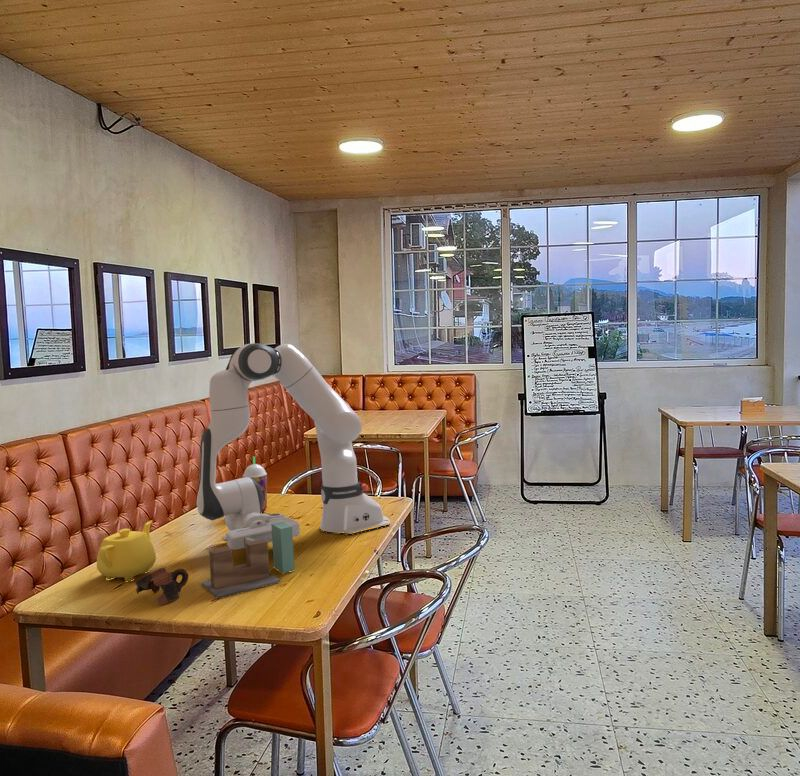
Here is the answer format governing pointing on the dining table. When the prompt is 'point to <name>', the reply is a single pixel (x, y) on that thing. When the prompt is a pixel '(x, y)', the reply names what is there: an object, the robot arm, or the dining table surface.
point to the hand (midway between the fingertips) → (274, 540)
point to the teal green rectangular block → (282, 547)
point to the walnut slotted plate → (239, 570)
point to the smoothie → (258, 479)
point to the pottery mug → (163, 584)
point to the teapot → (126, 554)
